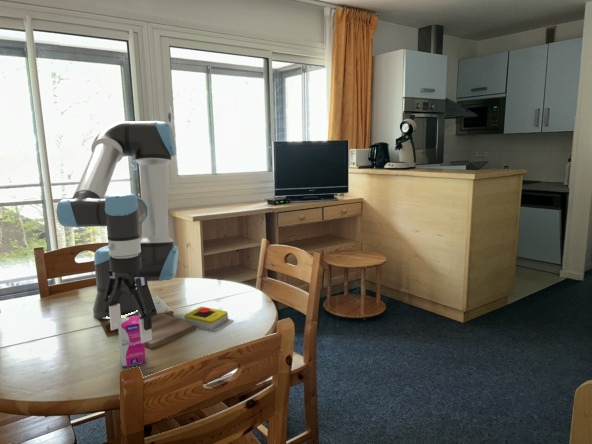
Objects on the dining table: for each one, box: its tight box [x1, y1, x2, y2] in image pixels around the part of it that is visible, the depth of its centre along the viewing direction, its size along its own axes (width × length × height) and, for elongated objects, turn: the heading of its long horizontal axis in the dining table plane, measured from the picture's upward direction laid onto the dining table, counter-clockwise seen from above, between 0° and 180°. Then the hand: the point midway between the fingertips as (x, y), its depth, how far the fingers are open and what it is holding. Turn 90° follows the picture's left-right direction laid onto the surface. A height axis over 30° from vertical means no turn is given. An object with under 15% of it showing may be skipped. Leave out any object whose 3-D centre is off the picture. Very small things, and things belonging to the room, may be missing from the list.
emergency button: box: [183, 306, 235, 332], centre depth 139 cm, size 9×4×15 cm
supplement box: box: [117, 315, 147, 369], centre depth 113 cm, size 6×6×12 cm
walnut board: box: [145, 313, 197, 350], centre depth 131 cm, size 16×16×2 cm
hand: (130, 334), depth 112 cm, fingers open, 13 cm apart
